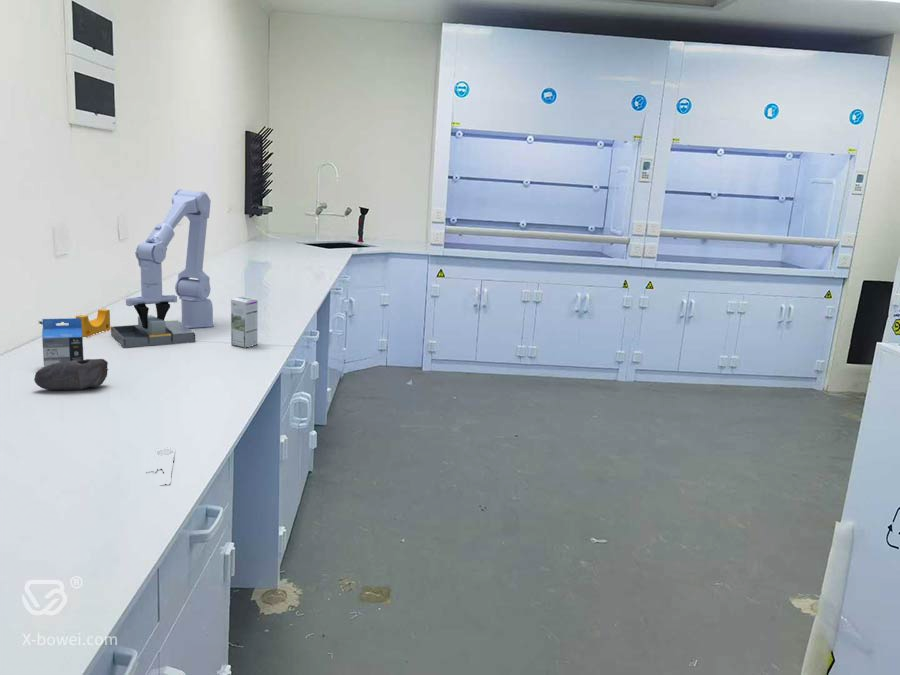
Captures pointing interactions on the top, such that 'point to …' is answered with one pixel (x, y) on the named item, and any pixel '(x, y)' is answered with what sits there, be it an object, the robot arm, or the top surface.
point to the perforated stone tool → (72, 375)
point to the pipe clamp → (95, 323)
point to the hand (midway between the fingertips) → (152, 327)
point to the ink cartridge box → (62, 340)
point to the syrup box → (244, 321)
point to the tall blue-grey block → (153, 326)
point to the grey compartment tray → (138, 338)
